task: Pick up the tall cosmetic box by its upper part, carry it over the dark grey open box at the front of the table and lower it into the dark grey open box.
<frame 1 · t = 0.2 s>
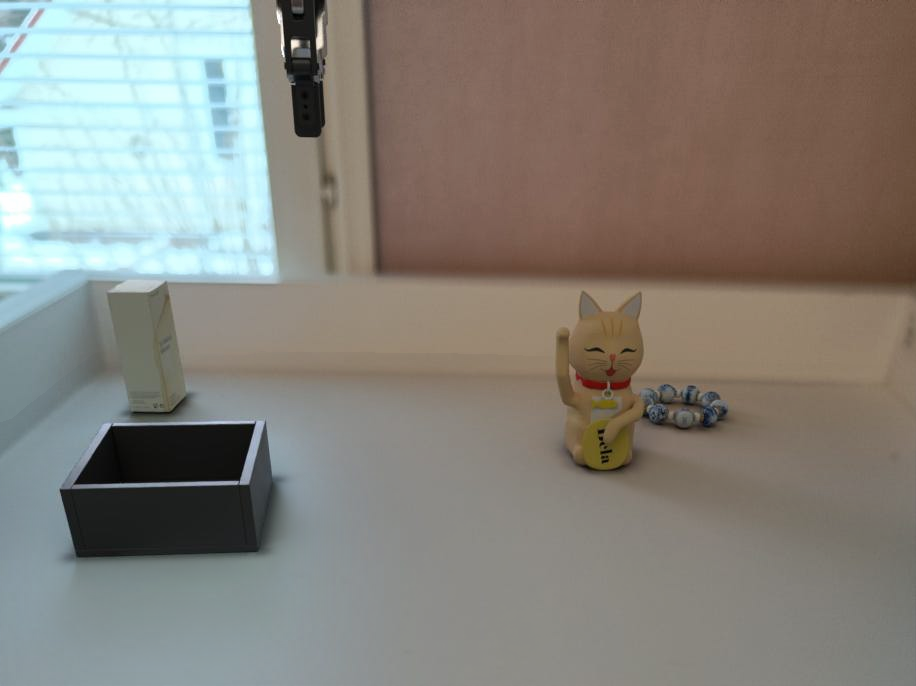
hand: (311, 132, 79), 26 cm above the table, tool pointing down, fingers open, 8 cm apart
bracelet: (679, 415, 98), on the table
cosmetic box: (159, 405, 98), on the table
figurine: (592, 457, 88), on the table
dark grey open box: (182, 515, 75), on the table
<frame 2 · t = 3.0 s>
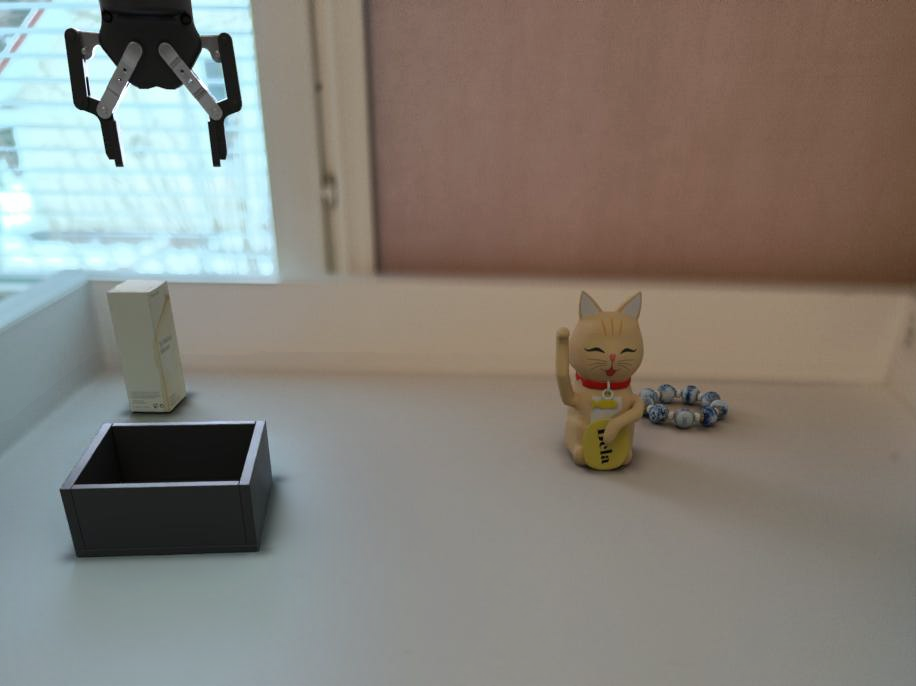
hand: (169, 166, 84), 23 cm above the table, tool pointing down, fingers open, 8 cm apart
nothing on the table moved.
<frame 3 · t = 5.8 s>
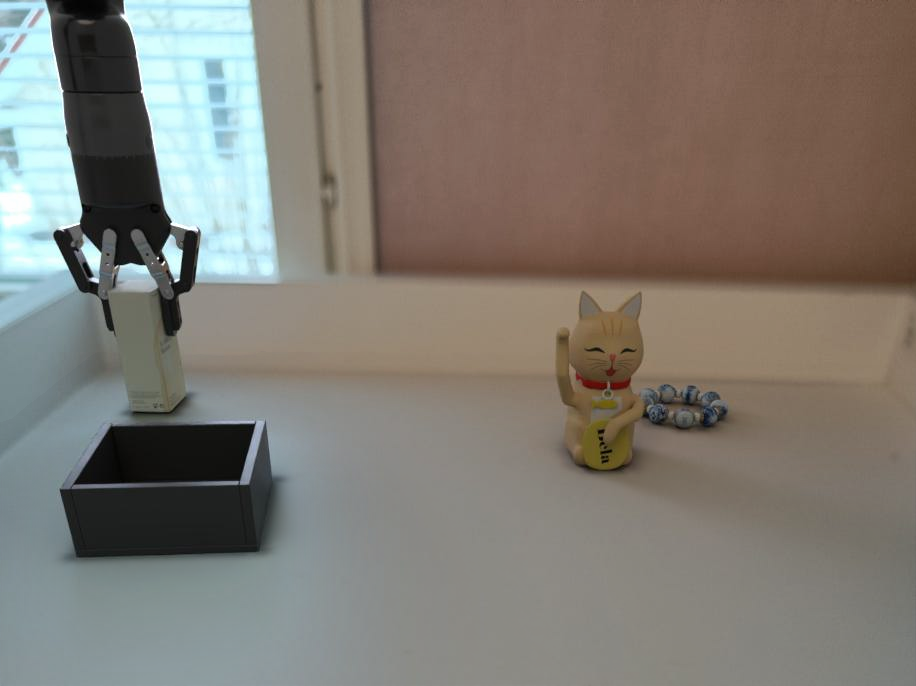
hand: (146, 334, 94), 7 cm above the table, tool pointing down, fingers closed on cosmetic box, 4 cm apart
cosmetic box: (159, 405, 98), on the table, touching gripper
everything else where it was.
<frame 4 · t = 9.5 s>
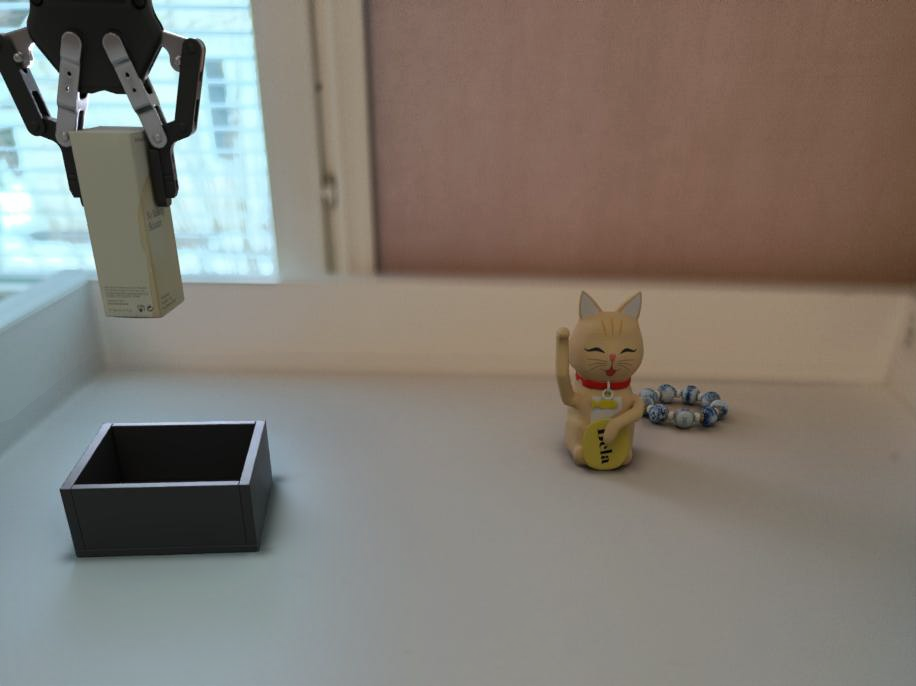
hand: (127, 204, 65), 23 cm above the table, tool pointing down, fingers closed on cosmetic box, 4 cm apart
cosmetic box: (146, 311, 70), point 15 cm above the table, touching gripper
everything else where it was.
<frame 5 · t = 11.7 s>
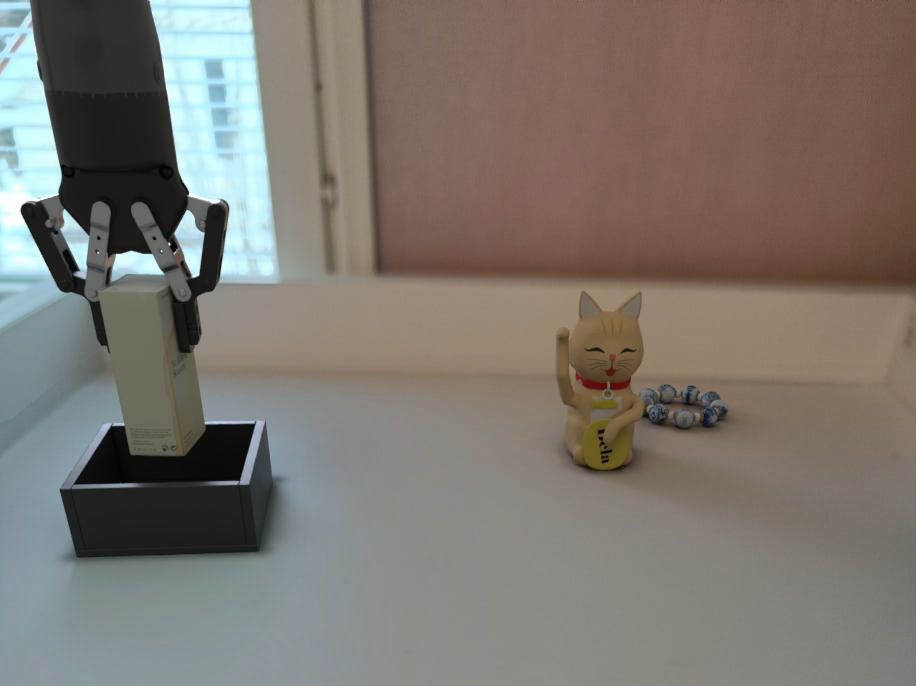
hand: (152, 349, 68), 14 cm above the table, tool pointing down, fingers closed on cosmetic box, 4 cm apart
cosmetic box: (169, 445, 72), point 6 cm above the table, touching gripper
everything else where it was.
when the fingers open (8 cm above the table, at t = 13.5 s): cosmetic box stays where it is, resting on dark grey open box.
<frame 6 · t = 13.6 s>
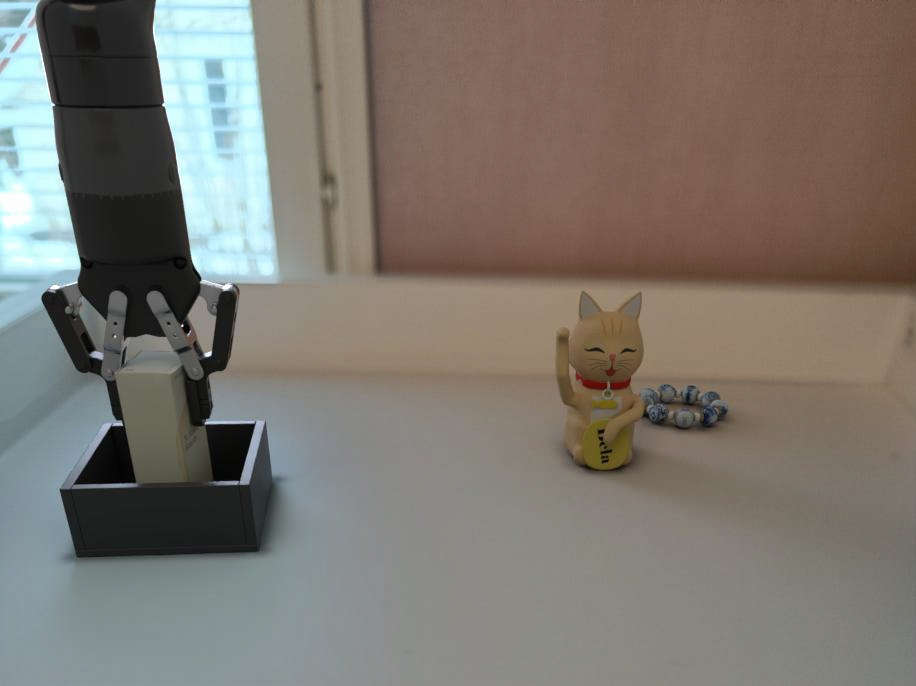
hand: (165, 422, 71), 8 cm above the table, tool pointing down, fingers open, 4 cm apart
cosmetic box: (180, 510, 75), resting on dark grey open box
everything else where it was.
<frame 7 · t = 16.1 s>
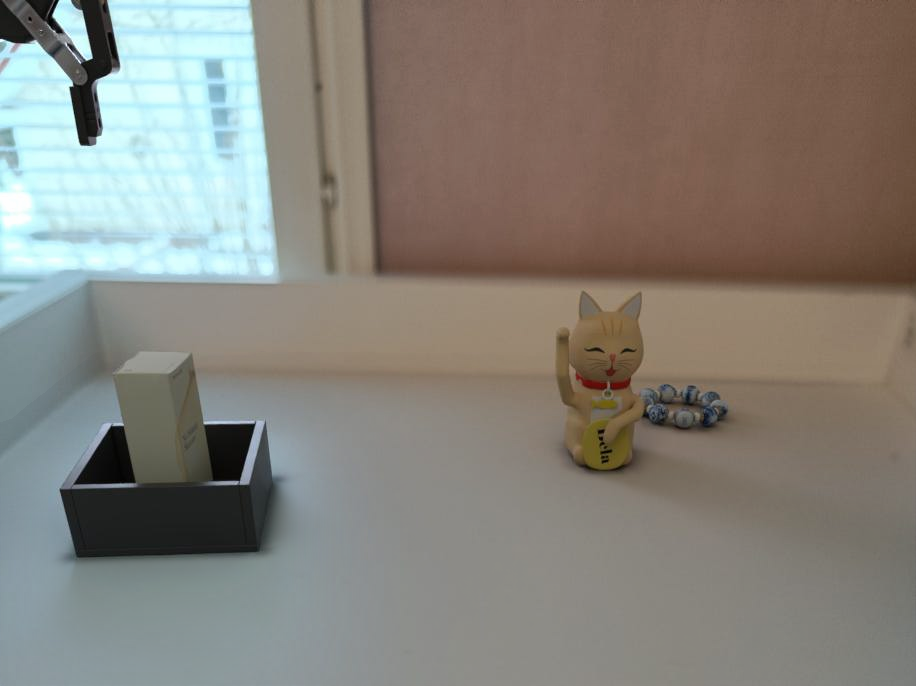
hand: (27, 143, 66), 26 cm above the table, tool pointing down, fingers open, 8 cm apart
nothing on the table moved.
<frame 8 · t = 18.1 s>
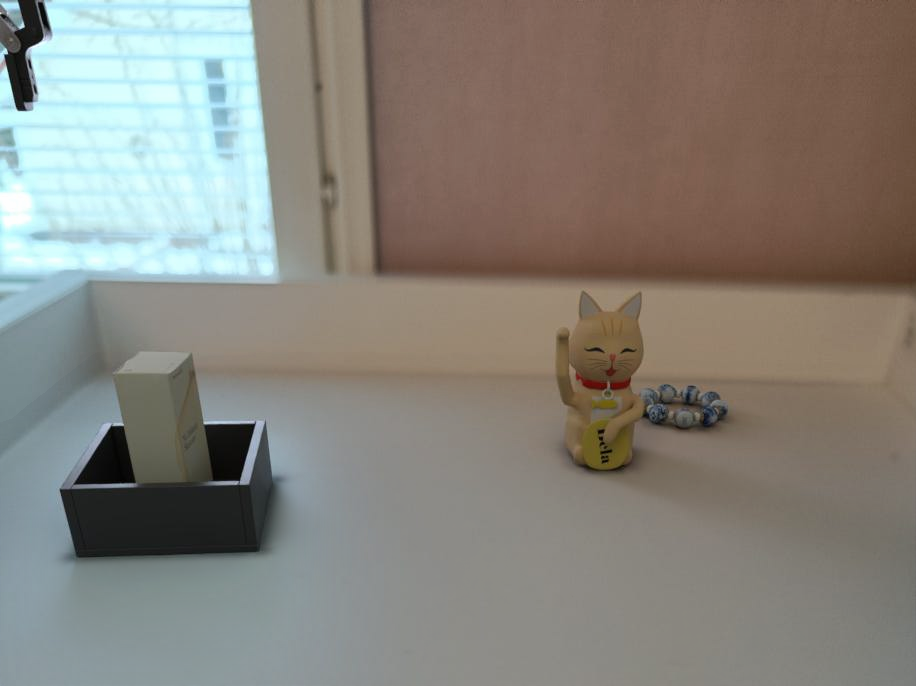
nothing on the table moved.
at the end: cosmetic box inside the target area in the dark grey open box (0.1 cm from its centre), point 0.4 cm above the dark grey open box's base; the gripper is holding nothing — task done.
